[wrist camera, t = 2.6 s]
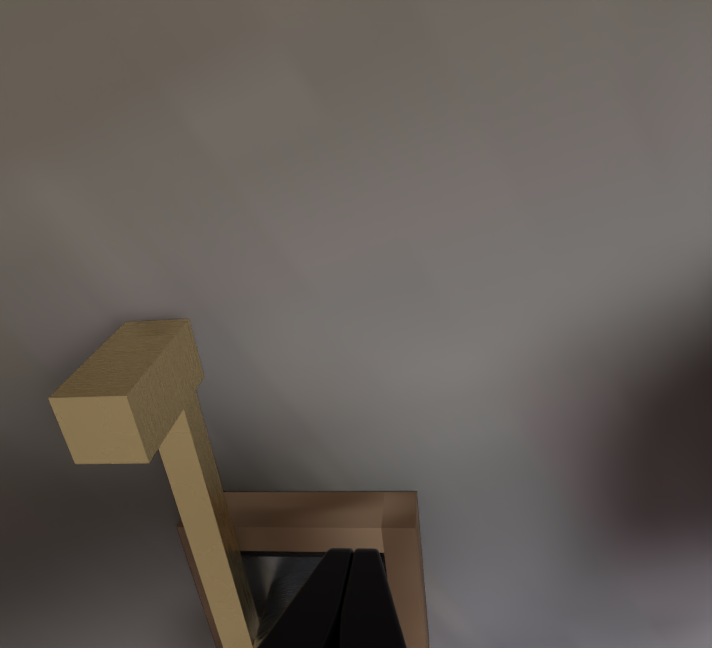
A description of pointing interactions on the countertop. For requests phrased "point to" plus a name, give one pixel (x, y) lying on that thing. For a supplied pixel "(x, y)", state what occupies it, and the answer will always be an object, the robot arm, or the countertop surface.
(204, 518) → the bar
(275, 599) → the grey metal knob
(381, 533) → the walnut socket
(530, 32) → the countertop surface
